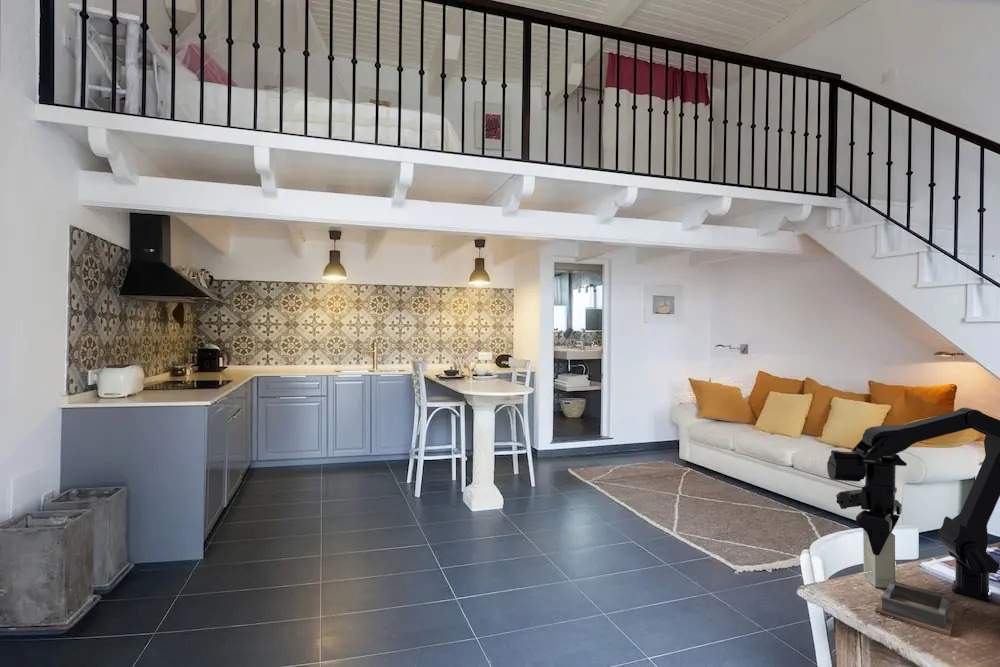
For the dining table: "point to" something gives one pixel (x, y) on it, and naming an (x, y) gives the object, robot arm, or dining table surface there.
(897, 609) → the box stand
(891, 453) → the robot arm
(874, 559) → the skincare box
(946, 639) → the dining table surface
